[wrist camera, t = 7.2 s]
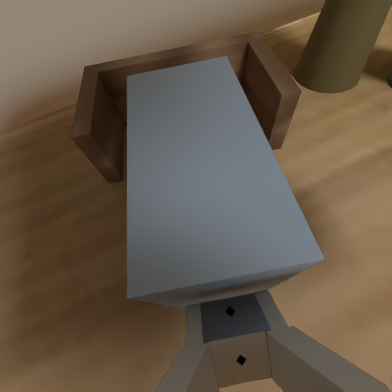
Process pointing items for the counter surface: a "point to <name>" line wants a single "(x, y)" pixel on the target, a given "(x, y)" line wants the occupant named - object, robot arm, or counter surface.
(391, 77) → the grey chess bishop
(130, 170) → the block
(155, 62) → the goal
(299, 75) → the olive pawn
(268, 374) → the robot arm
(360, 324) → the counter surface
